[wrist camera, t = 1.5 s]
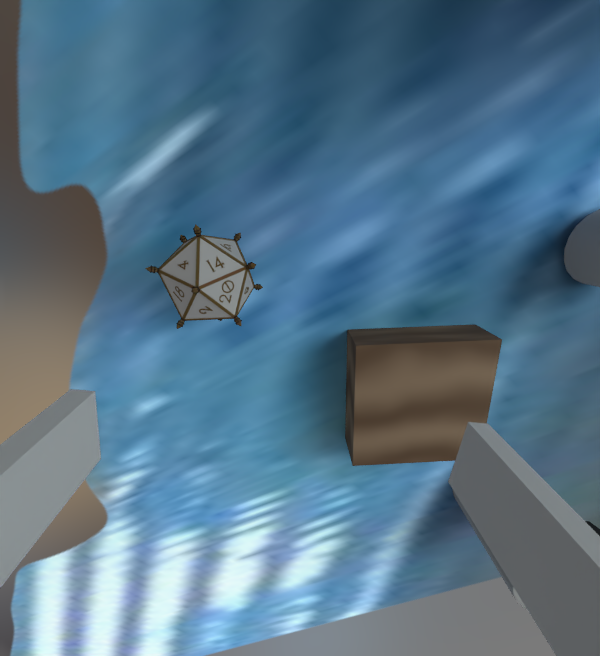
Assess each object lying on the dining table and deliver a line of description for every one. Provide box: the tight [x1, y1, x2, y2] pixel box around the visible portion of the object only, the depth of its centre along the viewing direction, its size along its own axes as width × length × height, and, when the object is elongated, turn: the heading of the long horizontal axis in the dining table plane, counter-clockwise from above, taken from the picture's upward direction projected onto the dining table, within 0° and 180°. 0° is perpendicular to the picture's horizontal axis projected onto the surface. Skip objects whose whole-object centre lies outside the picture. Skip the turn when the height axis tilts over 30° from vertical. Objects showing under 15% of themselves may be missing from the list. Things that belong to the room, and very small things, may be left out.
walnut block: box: [345, 325, 502, 466], centre depth 35 cm, size 14×14×5 cm
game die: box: [145, 225, 263, 329], centre depth 27 cm, size 9×8×10 cm
